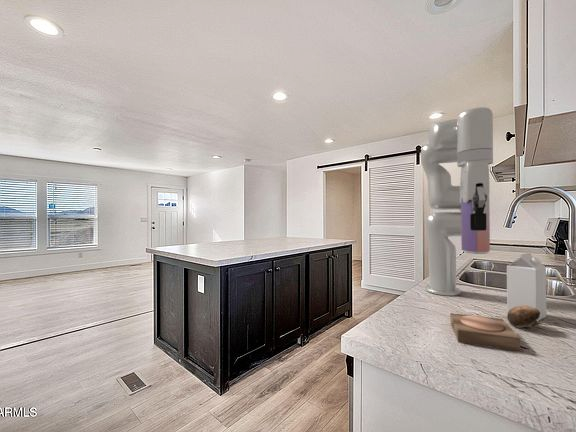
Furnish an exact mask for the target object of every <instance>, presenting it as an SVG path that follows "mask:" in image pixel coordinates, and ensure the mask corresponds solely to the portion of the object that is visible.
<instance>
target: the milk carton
mask: <svg viewBox="0 0 576 432" xmlns="http://www.w3.org/2000/svg"><path fill="white" fill-rule="evenodd" d="M519 254H520V255H519V256H520V257H519V258H517V259H515V260H514V261H512V262H510V263H509V264H507V265H506V306H507V307H506V311H507V312H506V314H507V315H508V312H509V310H510V309H512V308H513V307H516V306H529V307H534V308H536V309H538V310H539V312H540V316H539V318H538V319H537V321H538V322H539V321H541V320H543V319H544V318H546V317H547V267H546V266H545V265H544V264H543V263H541V262H542V261H541V260H540V259H538V258H537V257H534V256H533V255H532V252H531V251H529V252H524V253H519Z"/></svg>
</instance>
